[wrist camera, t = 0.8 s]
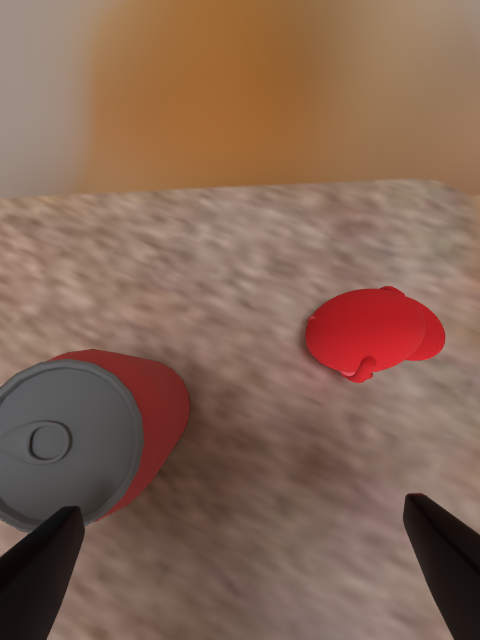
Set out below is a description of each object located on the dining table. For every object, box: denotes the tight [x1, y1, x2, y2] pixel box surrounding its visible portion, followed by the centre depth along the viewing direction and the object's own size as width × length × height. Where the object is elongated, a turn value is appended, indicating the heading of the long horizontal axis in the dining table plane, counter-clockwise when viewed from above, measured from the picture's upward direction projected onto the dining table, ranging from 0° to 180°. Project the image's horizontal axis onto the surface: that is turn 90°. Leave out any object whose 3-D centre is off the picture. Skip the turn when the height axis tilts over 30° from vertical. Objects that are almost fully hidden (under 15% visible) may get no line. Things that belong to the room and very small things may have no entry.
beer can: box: [0, 349, 190, 533], centre depth 16 cm, size 7×7×12 cm
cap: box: [305, 286, 445, 383], centre depth 21 cm, size 8×6×6 cm
